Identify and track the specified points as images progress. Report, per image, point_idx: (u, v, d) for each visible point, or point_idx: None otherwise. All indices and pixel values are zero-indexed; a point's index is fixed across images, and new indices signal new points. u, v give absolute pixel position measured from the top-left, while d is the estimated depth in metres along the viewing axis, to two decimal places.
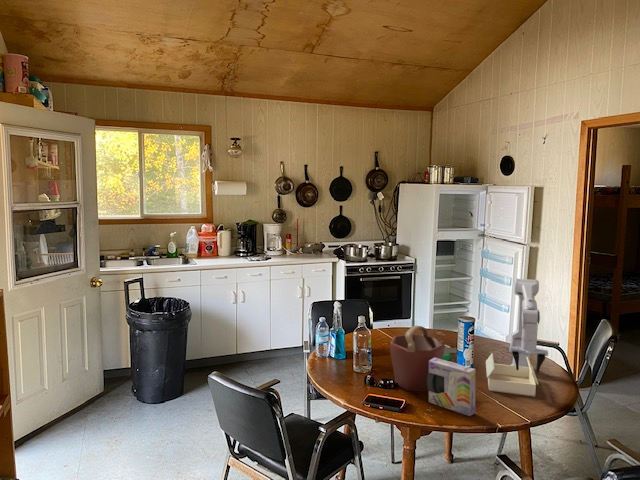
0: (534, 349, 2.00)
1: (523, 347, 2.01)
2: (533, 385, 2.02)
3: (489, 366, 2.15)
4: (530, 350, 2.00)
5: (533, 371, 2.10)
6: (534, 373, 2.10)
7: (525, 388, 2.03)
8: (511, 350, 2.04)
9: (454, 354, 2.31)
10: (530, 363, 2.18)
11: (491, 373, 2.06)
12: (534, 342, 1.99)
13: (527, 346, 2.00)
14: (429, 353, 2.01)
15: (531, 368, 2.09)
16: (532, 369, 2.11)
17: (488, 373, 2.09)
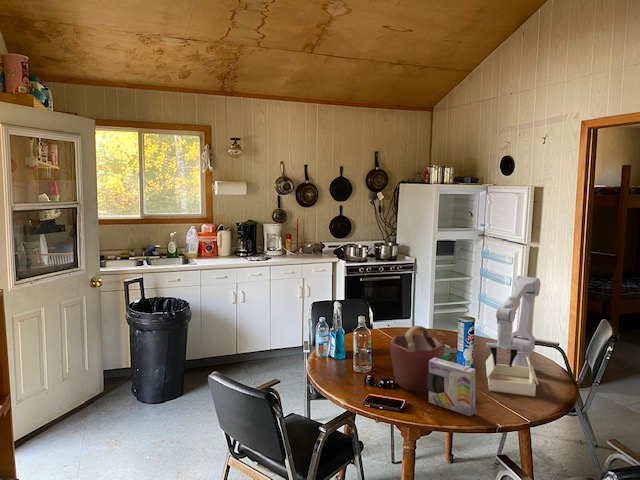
0: (509, 345, 2.11)
1: (498, 343, 2.12)
2: (533, 385, 2.02)
3: (489, 366, 2.15)
4: (505, 346, 2.10)
5: (533, 371, 2.10)
6: (534, 373, 2.10)
7: (525, 388, 2.03)
8: (487, 346, 2.14)
9: (454, 354, 2.31)
10: (530, 363, 2.18)
11: (491, 373, 2.06)
12: (509, 338, 2.10)
13: (502, 342, 2.11)
14: (429, 353, 2.01)
15: (531, 368, 2.09)
16: (532, 369, 2.11)
17: (488, 373, 2.09)
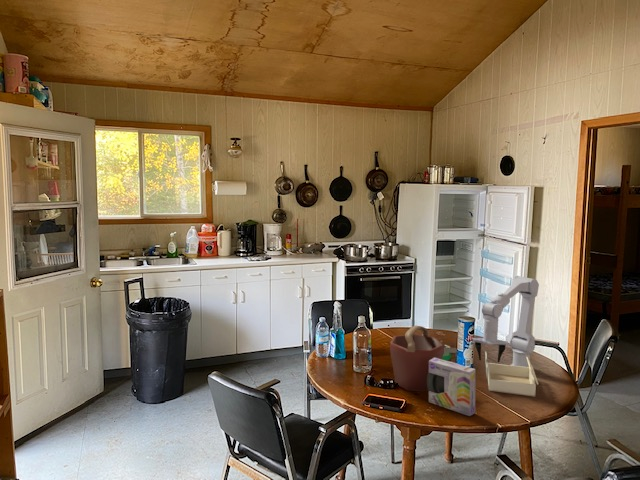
0: (495, 340, 2.12)
1: (485, 338, 2.13)
2: (533, 385, 2.02)
3: None
4: (491, 341, 2.12)
5: (533, 371, 2.10)
6: (534, 373, 2.10)
7: (525, 388, 2.03)
8: (474, 341, 2.16)
9: (454, 354, 2.31)
10: (530, 363, 2.18)
11: (487, 372, 2.07)
12: (495, 333, 2.12)
13: (488, 337, 2.12)
14: (429, 353, 2.01)
15: (531, 368, 2.09)
16: (532, 369, 2.11)
17: (486, 373, 2.09)
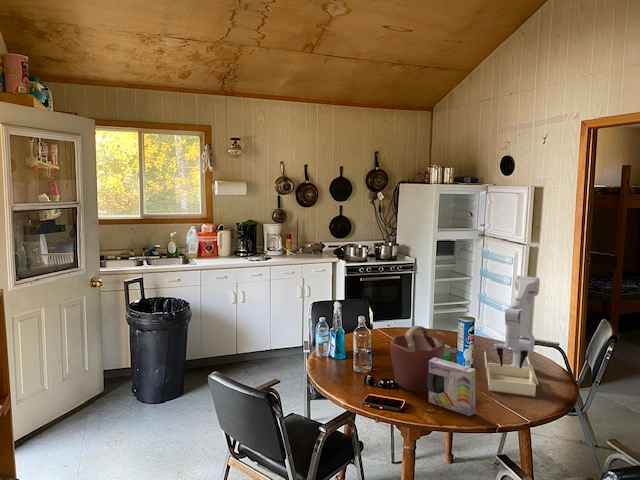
0: (517, 346, 2.10)
1: (507, 344, 2.11)
2: (533, 385, 2.02)
3: None
4: (513, 347, 2.09)
5: (533, 371, 2.10)
6: (534, 373, 2.10)
7: (525, 388, 2.03)
8: (495, 347, 2.13)
9: (454, 354, 2.31)
10: (530, 363, 2.18)
11: None
12: (517, 339, 2.09)
13: (510, 343, 2.10)
14: (429, 353, 2.01)
15: (531, 368, 2.09)
16: (532, 369, 2.11)
17: None
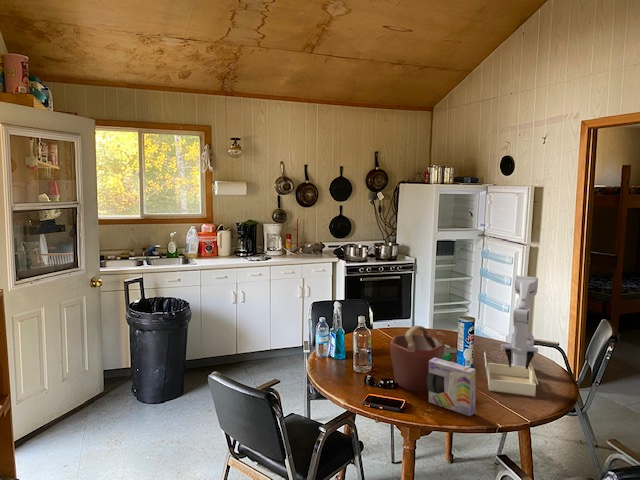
0: (525, 347, 2.09)
1: (514, 345, 2.10)
2: (533, 385, 2.02)
3: None
4: (521, 348, 2.09)
5: (533, 371, 2.10)
6: (534, 373, 2.10)
7: (525, 388, 2.03)
8: (503, 348, 2.13)
9: (454, 354, 2.31)
10: (530, 363, 2.18)
11: (486, 372, 2.07)
12: (525, 340, 2.08)
13: (518, 344, 2.09)
14: (429, 353, 2.01)
15: (531, 368, 2.09)
16: (532, 369, 2.11)
17: (486, 373, 2.09)
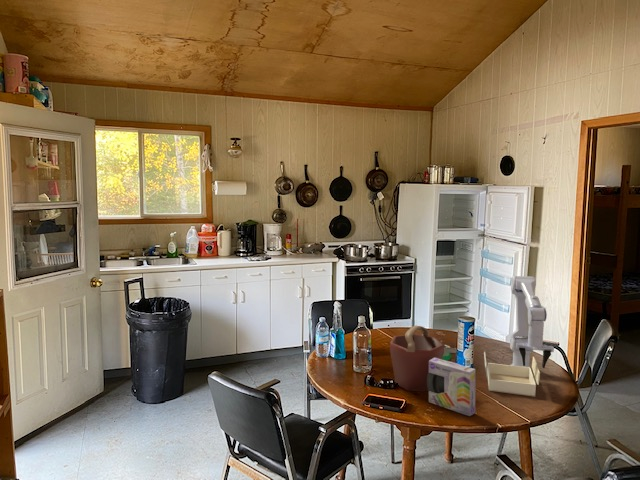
0: (540, 345, 2.07)
1: (529, 343, 2.08)
2: (533, 385, 2.02)
3: (485, 366, 2.15)
4: (536, 346, 2.07)
5: (536, 371, 2.10)
6: (536, 374, 2.10)
7: (525, 388, 2.03)
8: (518, 346, 2.11)
9: (454, 354, 2.31)
10: (534, 363, 2.17)
11: (486, 372, 2.07)
12: (540, 339, 2.07)
13: (533, 342, 2.07)
14: (429, 353, 2.01)
15: (537, 368, 2.08)
16: (536, 369, 2.10)
17: (486, 373, 2.09)
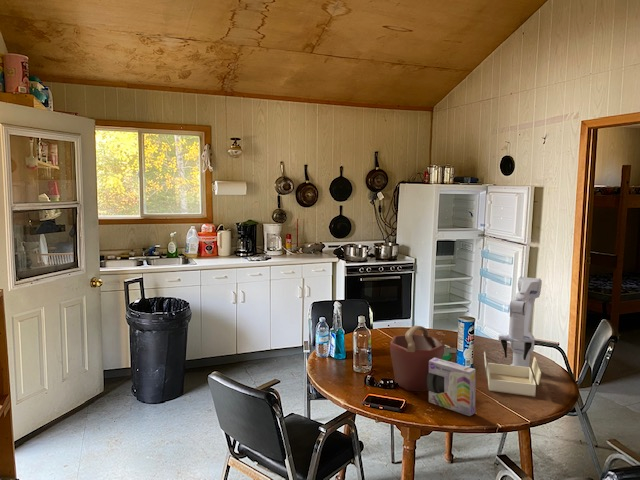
0: (521, 337, 2.13)
1: (511, 336, 2.15)
2: (533, 385, 2.02)
3: (485, 366, 2.15)
4: (517, 338, 2.13)
5: (536, 372, 2.10)
6: (536, 374, 2.10)
7: (525, 388, 2.03)
8: (500, 339, 2.17)
9: (454, 354, 2.31)
10: (534, 363, 2.17)
11: (486, 372, 2.07)
12: (521, 331, 2.13)
13: (515, 335, 2.13)
14: (429, 353, 2.01)
15: (538, 368, 2.08)
16: (536, 370, 2.10)
17: (486, 373, 2.09)
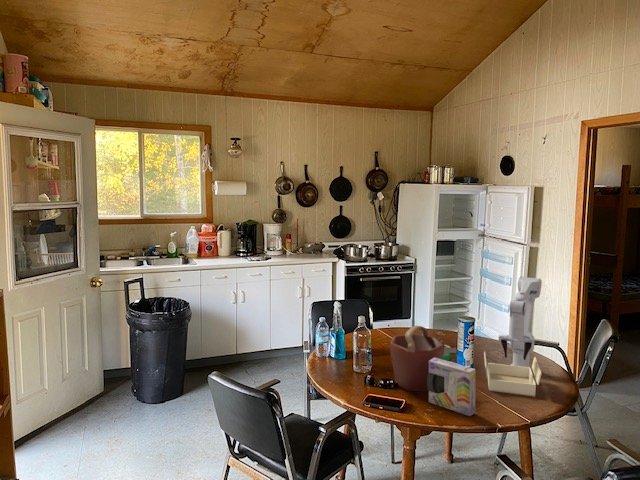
0: (521, 337, 2.13)
1: (511, 336, 2.15)
2: (533, 385, 2.02)
3: (485, 366, 2.15)
4: (517, 338, 2.13)
5: (536, 372, 2.10)
6: (536, 374, 2.10)
7: (525, 388, 2.03)
8: (500, 339, 2.17)
9: (454, 354, 2.31)
10: (535, 364, 2.17)
11: (486, 372, 2.07)
12: (521, 331, 2.13)
13: (515, 335, 2.13)
14: (429, 353, 2.01)
15: None
16: (537, 370, 2.10)
17: (486, 373, 2.09)
